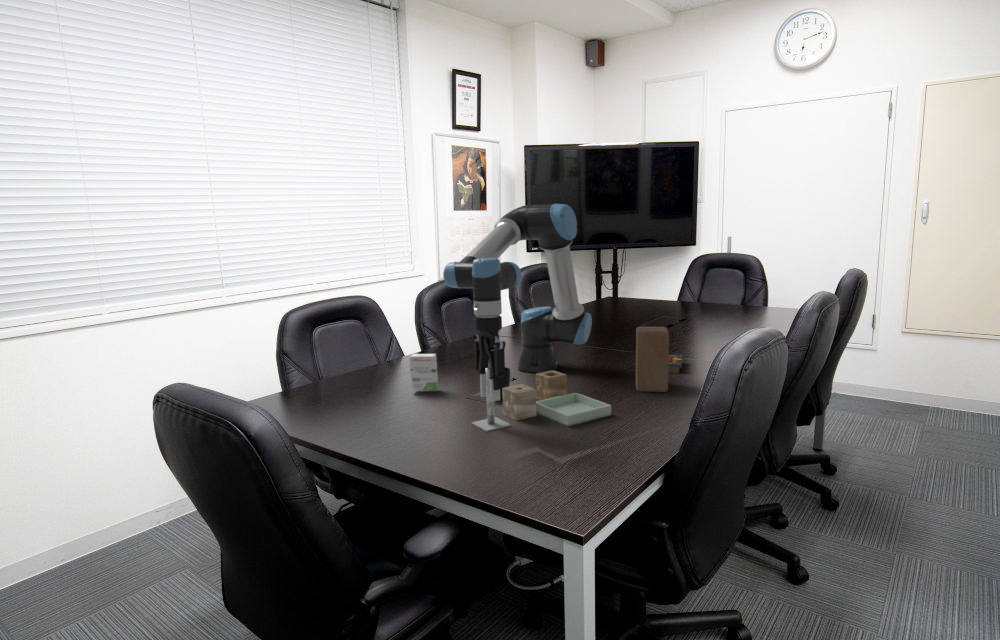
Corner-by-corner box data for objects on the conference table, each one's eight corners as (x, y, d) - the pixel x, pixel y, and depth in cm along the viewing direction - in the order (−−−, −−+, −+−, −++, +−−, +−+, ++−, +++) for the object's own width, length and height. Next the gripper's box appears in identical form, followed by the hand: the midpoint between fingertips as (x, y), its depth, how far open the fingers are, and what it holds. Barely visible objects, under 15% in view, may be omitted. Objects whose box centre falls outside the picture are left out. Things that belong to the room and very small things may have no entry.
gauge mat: (471, 423, 168) (471, 422, 168) (495, 418, 172) (495, 416, 172) (486, 431, 161) (486, 430, 161) (511, 425, 165) (510, 424, 165)
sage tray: (533, 411, 177) (533, 402, 176) (575, 401, 185) (575, 392, 184) (567, 426, 163) (567, 416, 163) (611, 415, 172) (611, 405, 171)
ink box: (438, 386, 207) (437, 353, 205) (435, 390, 202) (434, 356, 200) (414, 386, 207) (412, 353, 205) (411, 390, 202) (409, 356, 200)
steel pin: (485, 423, 167) (483, 367, 164) (492, 421, 168) (490, 366, 165) (489, 425, 165) (488, 369, 162) (496, 423, 166) (494, 368, 163)
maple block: (503, 414, 175) (502, 388, 174) (522, 409, 179) (522, 384, 177) (516, 420, 169) (515, 393, 168) (536, 415, 173) (535, 389, 172)
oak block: (536, 398, 190) (535, 373, 188) (553, 394, 193) (553, 370, 192) (549, 403, 184) (548, 378, 183) (567, 399, 188) (566, 374, 186)
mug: (514, 391, 198) (514, 363, 196) (508, 402, 186) (507, 373, 184) (490, 390, 199) (489, 363, 198) (482, 401, 188) (481, 372, 186)
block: (668, 393, 191) (669, 332, 188) (636, 392, 193) (636, 331, 190) (665, 384, 201) (667, 326, 197) (635, 383, 203) (636, 326, 199)
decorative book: (647, 374, 215) (647, 361, 214) (651, 364, 230) (652, 351, 229) (679, 376, 211) (680, 363, 210) (682, 365, 226) (683, 353, 225)
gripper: (459, 313, 167) (463, 393, 171) (493, 321, 152) (495, 409, 156) (482, 310, 171) (485, 388, 174) (517, 318, 156) (519, 403, 160)
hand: (490, 398), depth 165 cm, fingers open, 4 cm apart
